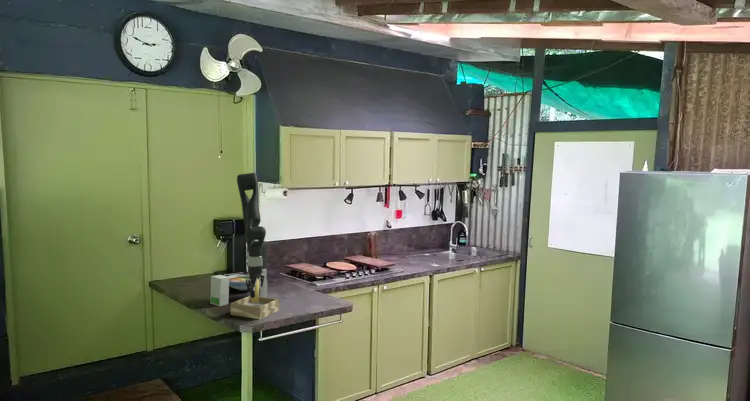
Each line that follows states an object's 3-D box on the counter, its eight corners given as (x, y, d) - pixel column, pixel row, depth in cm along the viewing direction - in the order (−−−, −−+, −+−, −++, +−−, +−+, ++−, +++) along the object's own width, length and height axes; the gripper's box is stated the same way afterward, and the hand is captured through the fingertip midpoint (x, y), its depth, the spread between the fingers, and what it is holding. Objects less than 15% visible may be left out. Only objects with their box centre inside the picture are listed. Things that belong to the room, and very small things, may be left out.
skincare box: (210, 304, 289) (209, 276, 288) (219, 301, 295) (219, 274, 293) (220, 306, 284) (220, 278, 283) (229, 303, 290) (229, 276, 289)
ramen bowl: (215, 290, 319) (215, 277, 318) (241, 283, 339) (241, 270, 338) (246, 296, 307) (246, 282, 306) (271, 288, 327) (271, 275, 327)
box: (251, 306, 286) (251, 295, 286) (279, 310, 280) (279, 299, 279) (230, 314, 270) (230, 303, 269) (260, 319, 263) (260, 307, 263)
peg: (254, 300, 277) (254, 278, 276) (260, 301, 275) (260, 278, 275) (249, 302, 273) (249, 279, 272) (256, 303, 272) (256, 280, 271)
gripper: (257, 261, 281) (257, 292, 282) (241, 266, 268) (240, 298, 269) (269, 262, 278) (268, 294, 279) (253, 267, 265) (253, 300, 266)
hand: (255, 296), depth 274 cm, fingers closed on peg, 4 cm apart
